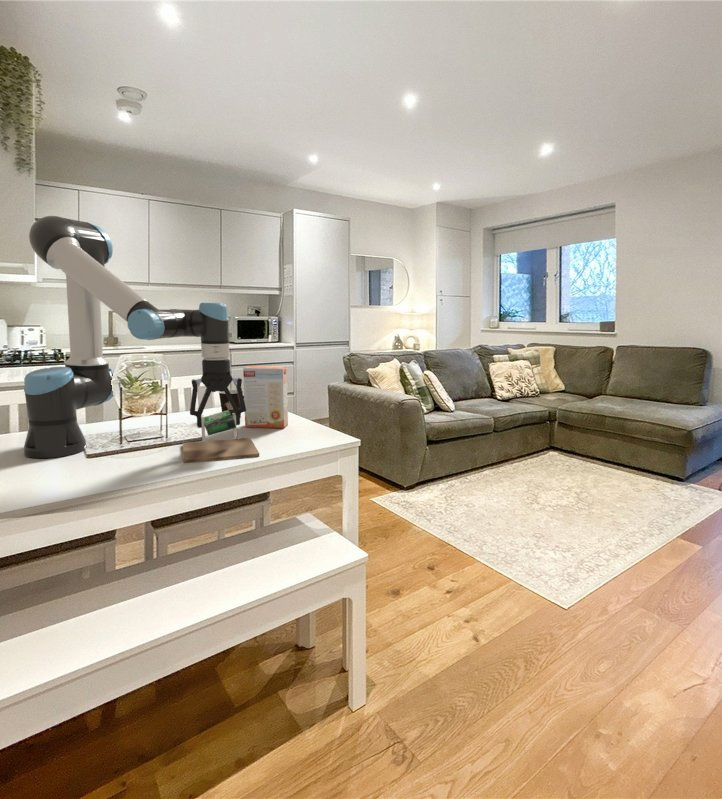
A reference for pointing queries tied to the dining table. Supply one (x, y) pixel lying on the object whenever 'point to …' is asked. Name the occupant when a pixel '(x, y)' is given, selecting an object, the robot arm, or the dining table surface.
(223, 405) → the coffee mug
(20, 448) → the dining table surface
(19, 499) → the dining table surface
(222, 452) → the walnut board
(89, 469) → the dining table surface
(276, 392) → the cracker box
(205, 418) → the coffee box
